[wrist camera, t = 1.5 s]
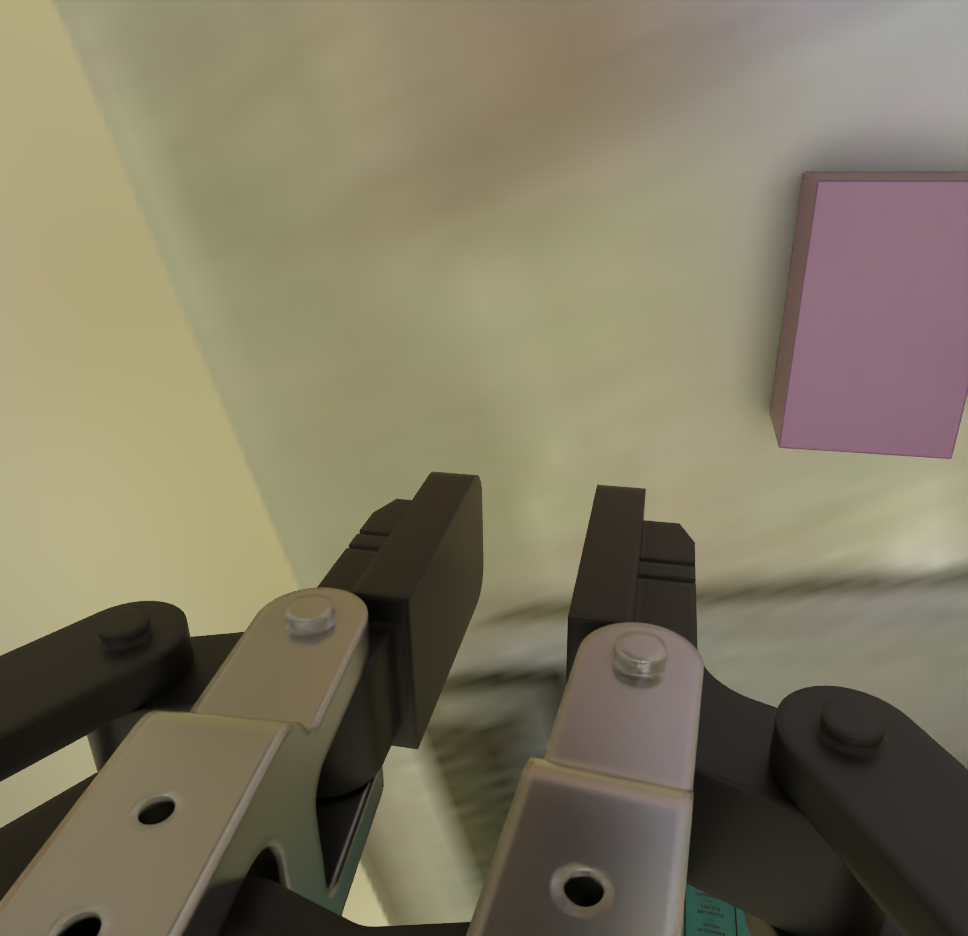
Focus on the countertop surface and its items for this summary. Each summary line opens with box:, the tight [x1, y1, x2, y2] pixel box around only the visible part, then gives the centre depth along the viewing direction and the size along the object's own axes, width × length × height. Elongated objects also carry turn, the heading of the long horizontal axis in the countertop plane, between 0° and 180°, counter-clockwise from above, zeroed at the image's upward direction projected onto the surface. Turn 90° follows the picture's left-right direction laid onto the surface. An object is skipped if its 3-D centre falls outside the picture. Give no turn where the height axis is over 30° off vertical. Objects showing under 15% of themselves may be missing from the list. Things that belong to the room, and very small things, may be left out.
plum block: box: [770, 172, 968, 459], centre depth 25 cm, size 8×5×3 cm, turn 1°
